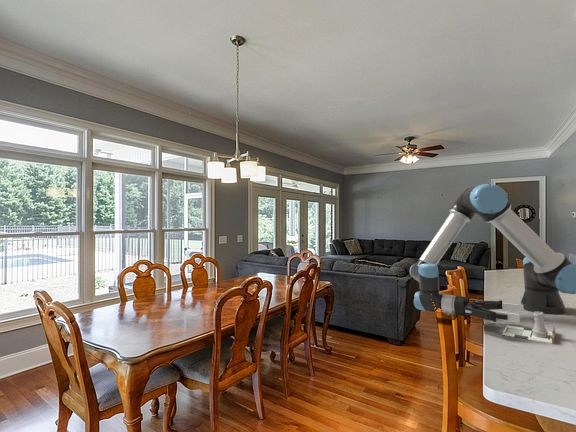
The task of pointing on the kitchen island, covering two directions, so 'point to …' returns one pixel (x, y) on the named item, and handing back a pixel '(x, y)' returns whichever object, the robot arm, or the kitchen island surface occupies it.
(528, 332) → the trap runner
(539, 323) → the rook chess piece
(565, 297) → the kitchen island surface
